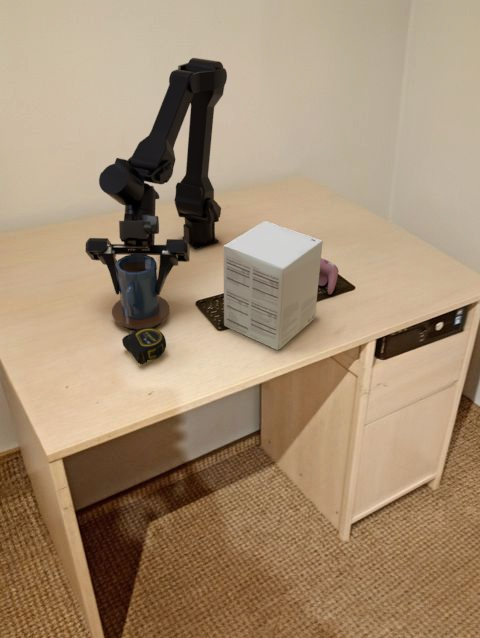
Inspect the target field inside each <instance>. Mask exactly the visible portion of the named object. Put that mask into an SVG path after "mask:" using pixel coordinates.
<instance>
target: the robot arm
mask: <svg viewBox="0 0 480 638" xmlns="http://www.w3.org/2000/svg"><path fill="white" fill-rule="evenodd" d="M227 80H228V72H227V70H226V68H225V67H224V65H223V63H222V62H221V61H218V60H213V59H207V58H205V59H204V58H198V57H191V58H190V59H189V61H188V62H186V63H183V64H179V65H177V69H174V70H172V71H171V73H170V74H169V78H168V82H169V83H168V87H167V90H166V92H165V94H164V97H163V100H162V101H161V105H160V108H159V110H158V113H157V115H156V118H155V120H154V123H153V124H152V128H151V130H150V132H149V134H148V136H146V137H145V138H143V139H142V140H141V141H139V143H138V144H137V146H136V148H135V150H134V151H133V154H132V155H131V156H130V157H129V158H128V159H124V158H120V157H116V158H115V161H114V163H112V164H109V165H108V166H106V167H105V168H104V169H103V170H102V172H100V174H99V178H98V185H99V187H100V190H102V191H103V192H104V193H105V194H106V195H108V196H109V197H110V198H112V199H113V200H114V201H116V202H117V203H118V204H120V205H122V206H124V215H123V220H119V221H118V227H119V228H118V231H119V239H120V241H121V242H122V244H120V243H111V241H110V239H109V238H107V237H89V238H88V239H87V240H86V242H85V250H84V251H85V253H86V254H87V256H88V257H89V258H90V260H92V261H100V262H101V263H102V265H104V266H106V267H107V269H108V273H109V275H110V278H111V281H112V282H111V283H112V286H113V289H114V292H115V295H117V296H118V295H119V296H120V292H119V285H118V277H117V272H116V266H115V265H116V263H117V261H118V259H117V258H116V257H117V255H120V256H121V255H122V256H123V255H124V256H127V255H132V254H144V255H148V256H159V266H158V272H157V295H159V296H160V295H161V292H162V290H163V288H164V285H165V282H166V280H167V278H168V276H169V274H170V273H171V271H172V269H173V268H174V267H176V266H179V262H181V263H187V262H190V258H191V257H190V254H191V253H190V246H191V248H193V249H194V250H199V249H202V248H206V247H209V246H212V245H215V244H219V239H218V238H216V226H215V225H216V223H218V222H219V220H220V217H221V214H222V207H221V206H220V204H218V202H217V201H216V200H215V189H214V186H213V184H212V181H211V179H210V178H209V172H210V171H209V170H210V157H211V147H212V135H213V124H214V114H215V113H214V112H215V107H216V105H217V104H218V103H219V101H220V100H221V98H222V97H223V96H224V91H225V85H226V84H227ZM189 108H190V111H189V113H190V114H189V124H188V125H189V127H188V141H187V153H186V166H185V168H186V169H185V175H184V176H183V178H181V181H178V182H176V184H175V195H174V196H175V197H174V199H173V200H174V205H175V209H176V211H177V215H178V217H179V218H184V224H183V225H182V226H183V227H182V228H183V236H182V237H181V238H182V239H179V238H174V239H173V238H167V239H166V241H165V244H155V238H156V235H158V234H159V233H160V222H159V221H160V220H159V216H158V215H156V201H157V200H160V195H159V192H158V191H157V190H156V189H155V187H154V186H153V185H150V184H149V183H152V184H155V185H163V184H165V183H169V181H170V180H171V178H172V176H173V173H174V167H175V164H176V155H175V150H174V148H175V145H176V141H177V139H178V136H179V134H180V131H181V128H182V126H183V124H184V121H185V118H186V115H187V112H188V110H189Z"/></svg>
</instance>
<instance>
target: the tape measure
mask: <svg viewBox="0 0 480 638" xmlns="http://www.w3.org/2000/svg"><path fill="white" fill-rule="evenodd" d="M121 343H122V345H123V348H124V349H125V350H126V351H127V352H129V353H130V354H131V356H132V357H133V358H134V359H135V360H136V362H137V364H139V365H141V366H142V365H145V364H148V362H150V361H155V360H157V359H159V358H160V357H161V356H162V355H164V353H165V352H166V348H167V340H166V336H165V335H164V334H163V332H162V331H160V330H159V329H156V328H140V329H137V330H136V331H133V332H130V333H128V334H127V335H125V336H123V338H122V341H121Z"/></svg>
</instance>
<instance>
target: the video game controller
mask: <svg viewBox="0 0 480 638" xmlns="http://www.w3.org/2000/svg"><path fill="white" fill-rule="evenodd" d="M338 275H339V268H338V266H337V265H336V264H334V263H332V262H331V261H329V260H327V259H325V258H322V257H321V263H320V272H319V282H318V286H320V287H325V286H326V285H327V294H328V295H333V293H334V291H335V288H336V284H337V281H338Z"/></svg>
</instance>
